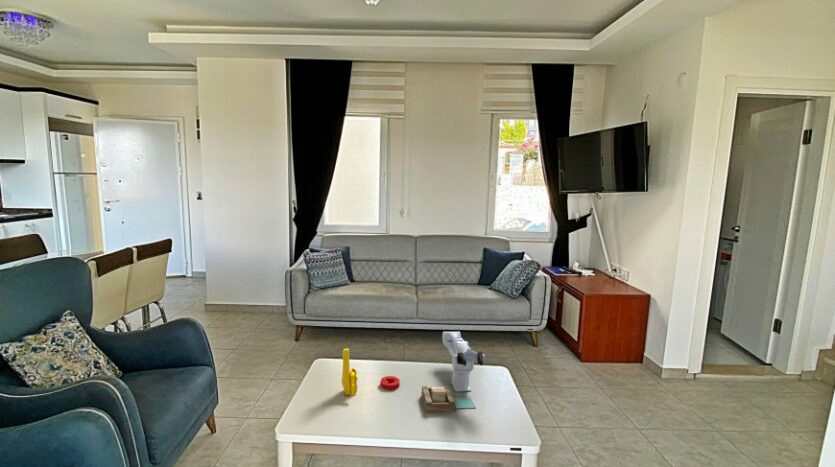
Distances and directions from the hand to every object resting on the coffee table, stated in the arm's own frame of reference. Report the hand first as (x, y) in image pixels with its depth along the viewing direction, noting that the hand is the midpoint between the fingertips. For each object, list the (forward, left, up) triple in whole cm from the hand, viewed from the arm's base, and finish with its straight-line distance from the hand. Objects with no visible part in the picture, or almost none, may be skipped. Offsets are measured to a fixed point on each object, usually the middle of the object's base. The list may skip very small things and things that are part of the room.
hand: (473, 363), depth 191 cm
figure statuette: (-17, -56, -22) cm, 62 cm away
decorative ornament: (-23, -36, -22) cm, 48 cm away
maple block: (-5, -15, -20) cm, 25 cm away
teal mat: (-4, -2, -22) cm, 22 cm away
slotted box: (-5, -15, -22) cm, 27 cm away
